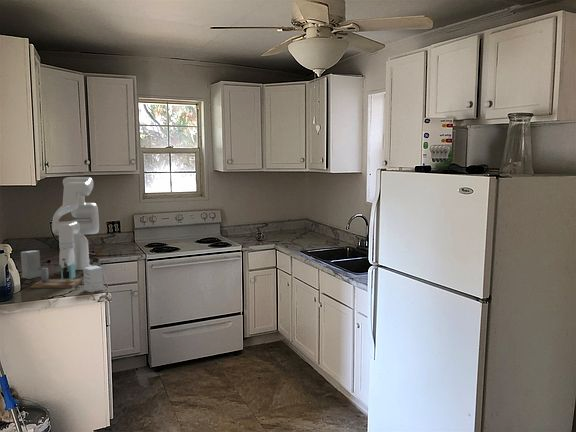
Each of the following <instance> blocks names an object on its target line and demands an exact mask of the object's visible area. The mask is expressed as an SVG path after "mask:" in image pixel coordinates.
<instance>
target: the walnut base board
mask: <svg viewBox="0 0 576 432" xmlns="http://www.w3.org/2000/svg"><path fill="white" fill-rule="evenodd" d="M82 281H83V280H82V278H73V279H72V282H71V283H65V280H61V278H49V282H47V283H42V281H41V279H40V280H39V281H37V282H35V283H33V284H31V286H30V288H31V289H72V288H74V287H76V286H77V285H79V284H80V283H81V282H82Z"/></svg>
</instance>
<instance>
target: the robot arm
mask: <svg viewBox="0 0 576 432" xmlns="http://www.w3.org/2000/svg"><path fill="white" fill-rule="evenodd" d="M94 183H95V182H94V180H93V178H92V177H89V176H87V177H86V176H69V177H64V178H63V180H62V185H63V195H62V196H63V197H62V205H60V207H59V208H58V209H57V210H56V211H55V213H54V214H53V216H52V224H51V231H52V233H53V234H54V235H58V242H59V243H58V244H59V256H58V259H59V262H58V263H59V267H60V269H61V268H62V271H63V278H64V279H69V271H68V266H70V265H72V264H75V271H83V268H85V267H90V266H93V265H92V264H90V261H91V260H90V255H89V254H90V253H89V250H90V249H89V239H87V237H86V236H85V235H95V234H96V235H97V234H98V233H99V231H100V218H99V217H100V216H99V207H98V205H97V203H95V202H86V200H85V198H86V197H88V196H90V194H91V193H92V192H93V189H94ZM69 213H71V217H72V218H76V219H74V220H70V221H60V219H61V218H62V217H63V216H65V215H66V214H69ZM81 218H82V219H81ZM84 218H85V219H84ZM87 218H88V219H87ZM65 265H67V266H65ZM65 267H67V269H66V268H65Z"/></svg>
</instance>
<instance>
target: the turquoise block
mask: <svg viewBox="0 0 576 432" xmlns="http://www.w3.org/2000/svg"><path fill="white" fill-rule="evenodd" d="M65 266H67V265H65ZM65 268H66V269H67V267H65ZM68 271H69V279H76V270H75V264H72V265H70V266H68ZM60 276H61V277H60V279H61V280H66V279H64V278H63V271H62V268H61V267H60Z"/></svg>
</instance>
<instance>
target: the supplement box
mask: <svg viewBox="0 0 576 432" xmlns="http://www.w3.org/2000/svg"><path fill="white" fill-rule="evenodd" d="M82 271H83V283H84V285H83V286H84V289H83V290H84V291H85V292H87V293H88V292H89V293H90V294H91V293H96V292H99V291H103V290H104V275H103V272H104V271H103V267H102V266H98V265H92V266H90V267H85V268H83V270H82ZM95 291H96V292H95Z"/></svg>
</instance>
